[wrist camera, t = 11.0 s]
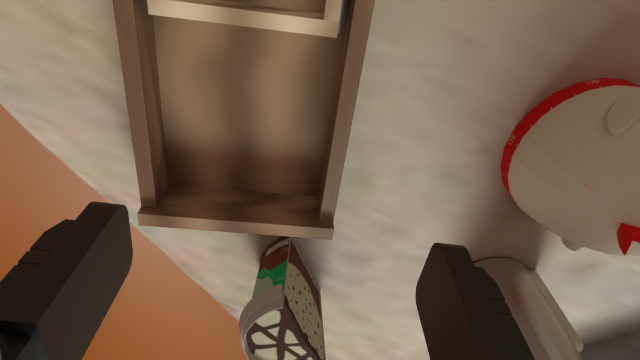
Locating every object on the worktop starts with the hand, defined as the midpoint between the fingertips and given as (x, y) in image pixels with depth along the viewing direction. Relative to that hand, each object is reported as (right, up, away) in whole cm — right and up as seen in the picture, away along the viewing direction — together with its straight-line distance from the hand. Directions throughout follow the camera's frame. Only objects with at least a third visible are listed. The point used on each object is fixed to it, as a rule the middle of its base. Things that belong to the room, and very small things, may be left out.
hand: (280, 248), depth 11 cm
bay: (-4, +12, +20) cm, 24 cm away
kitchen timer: (+25, +5, +27) cm, 37 cm away
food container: (-3, -8, +34) cm, 35 cm away
